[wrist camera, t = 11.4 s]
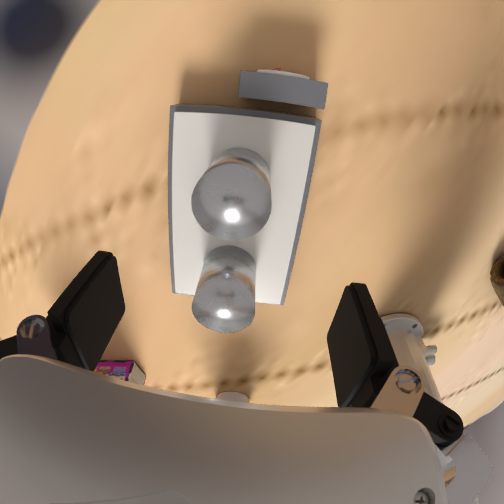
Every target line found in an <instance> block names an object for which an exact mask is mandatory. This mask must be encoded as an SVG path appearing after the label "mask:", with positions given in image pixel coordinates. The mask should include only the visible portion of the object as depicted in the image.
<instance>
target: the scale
mask: <svg viewBox="0 0 504 504" xmlns="http://www.w3.org/2000/svg"><path fill="white" fill-rule="evenodd" d="M327 88H328V83H325V82H320V81H315V80H310V77H308V76H305V75H301V74H296V73H291V72H285V71H280V68H276V69H275V70H264V69H259V70H257V72H254V71H243V70H241V75H240V83H239V92H238V97H241V98H251V99H261V100H269V101H277V102H284V103H290V104H297V105H303V106H308V107H314V108H319V109H324V107H325V101H326V94H327ZM321 121H322V120H320V119H318V118H315V117H310V116H304V115H298V114H292V113H285V112H278V111H271V110H263V109H254V108H244V107H233V106H219V105H199V104H176V105H171V106H170V123H169V151H168V217H169V246H170V265H171V280H172V293H177V294H185V295H193V296H195V292H196V288H197V285H198V281H199V278H200V274H201V271H202V268H203V264H204V261H205V258H206V256H207V255H208V253H209V252H210V251H212V250H213V249H215V248H217V247H220V246H224V245H232V246H237V247H240V248H242V249H244V250H246V251H247V252H248V253H249V254H250V255H251V256H252V257H253V259H254V261H255V264H256V289H255V303H265V304H276V305H284V301H285V297H286V293H287V289H288V284H289V280H290V276H291V272H292V267H293V263H294V258H295V254H296V249H297V245H298V240H299V236H300V231H301V226H302V222H303V217H304V212H305V207H306V202H307V197H308V192H309V187H310V182H311V177H312V172H313V166H314V161H315V155H316V150H317V144H318V139H319V133H320V127H321ZM237 147H239V148H247V149H250V150H253V151H255V152H256V153H258V154H259V155H260V156H261V157H262V158H263V159H264V160H265V162H266V163H267V165H268V167H269V171H270V180H271V200H272V208H271V214H270V217H269V219H268V221H267V223H266V224H265V226H264V227H263V228H262V229H261V230H260V231H259V232H258V233H257V234H255V235H253V236H251V237H249V238H246V239H243V240H237V241H228V240H223V239H219V238H217V237H214V236H212V235H210V234H209V233H207V232H206V231H205V230H204V229H203V228H202V227H201V226H200V225H199V224H198V222H197V221H196V219H195V217H194V214H193V212H192V207H191V197H192V193H193V190H194V187H195V185H196V184H197V182H198V181H199V179H200V178H201V177H202V175H203V174H204V173H205V171H206V170H207V168H208V167H209V166H210V164H211V163H212V162H213V160H214V159H215V158H216V157H217V156H218V155H219V154H220V153H222V152H223V151H225V150H228V149H231V148H237Z"/></svg>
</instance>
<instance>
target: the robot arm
mask: <svg viewBox="0 0 504 504" xmlns="http://www.w3.org/2000/svg"><path fill="white" fill-rule="evenodd" d="M124 312H125V303H124V298H123V293H122V288H121V283H120V277H119V272H118V266H117V260H116V257H115V256H113V254H112V253H111V252H106V251H98V252H97V253H96V254H95V255H94V256H93V257H92V258H91V260H90V261H89V262H88V263H87V264H86V265H85V266H84V268H83V269H82V270H81V271H80V272H79V273H78V275H77V276H76V277H75V278H74V279H73V281H72V282H71V283H70V284H69V286H68V287H67V288H66V289H65V290H64V292H63V293H62V294H61V295H60V297H59V298H58V299H57V301H56V302H55V303H54V304H53V306H52V307H51V308H50V310H49V311H48V312H47V313H48V316H47V317H46V318H45V317H43V316H41V315H31V316H29V317H27V318H25V319H24V320H22V322H21V323H20V324H19V326H18V328H17V335H15V336H13V337H10V338H7V339H5V340H2V341H0V504H478V494H479V493H480V492H481V490H482V489H483V487H484V486H485V485H486V483H487V482H488V480H489V479H490V477H491V475H492V471H493V467H492V463H491V461H490V459H489V458H488V457H487V456H486V454H485V453H484V452H483V451H482V450H481V448H480V447H479V446H478V445H477V444H476V442H474V440H473V439H472V438H471V437H470V435H469V434H468V433H467V434H466V435H464V434H463V422H462V419H461V418H460V416H459V415H458V414H457V413H456V412H454V411H453V410H451V409H450V408H448V407H447V406H445V405H444V404H443V403H442V400H441V397H440V395H439V392H438V389H437V387H436V384H435V381H434V379H433V376H432V374H431V371H430V369H429V367H428V365H433V364H434V363H435V355H434V354H435V353H436V351H437V347H436V346H435V345H430V346H425V345H424V343H423V341H422V338H423V333H424V330H423V327H422V325H421V323H420V321H419V320H418V319H417V318H416V317H414V316H412V315H410V314H404V313H397V314H390V315H386V316H383V317H379V315H378V312H377V310H376V308H375V305H374V303H373V300H372V298H371V295H370V293H369V291H368V288H367V286H366V284H362V283H351V284H350V286H346V287H345V289H344V292H343V295H342V298H341V300H340V303H339V306H338V308H337V311H336V313H335V316H334V319H333V321H332V324H331V326H330V329H329V331H328V334H327V343H328V348H329V354H330V360H331V365H332V371H333V377H334V384H335V390H336V397H337V403H338V407H300V406H280V405H265V404H254V403H244V402H235V401H227V400H219V399H212V398H206V397H199V396H193V395H188V394H182V393H177V392H172V391H167V390H162V389H157V388H153V387H148V386H144V385H140V384H136V383H132V382H128V381H124V380H120V379H117V378H113V377H110V376H106V375H103V374H99V373H96V372H93V371H94V370H95V369H96V367H97V365H98V363H99V361H100V359H101V357H102V355H103V353H104V351H105V349H106V347H107V345H108V343H109V341H110V339H111V337H112V335H113V333H114V331H115V329H116V327H117V326H118V324H119V322H120V320H121V318H122V316H123V315H124Z"/></svg>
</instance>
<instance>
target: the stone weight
mask: <svg viewBox="0 0 504 504" xmlns="http://www.w3.org/2000/svg"><path fill="white" fill-rule="evenodd" d="M490 275H491V277H490V279H491V283H492V285H493V288H494V290H495V292H496V294H497V296H498V297H499V299H500V301H501V303H502V304H503V306H504V255H502V256H501V258H500V259H498V260H497V262H496V263H495V264H494V266H493V267H492V269H491V272H490Z"/></svg>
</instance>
